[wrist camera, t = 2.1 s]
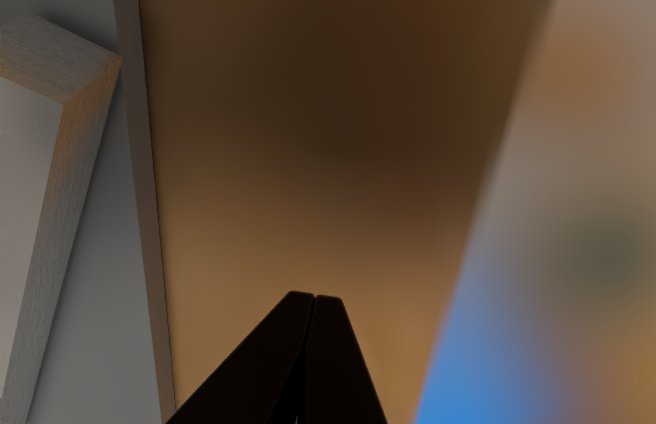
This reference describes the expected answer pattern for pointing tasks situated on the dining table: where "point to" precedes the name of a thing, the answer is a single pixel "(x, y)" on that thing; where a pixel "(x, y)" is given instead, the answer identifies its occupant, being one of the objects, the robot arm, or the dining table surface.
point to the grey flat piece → (109, 251)
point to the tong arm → (42, 183)
